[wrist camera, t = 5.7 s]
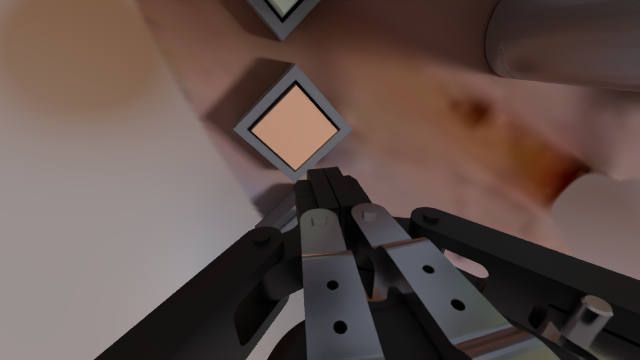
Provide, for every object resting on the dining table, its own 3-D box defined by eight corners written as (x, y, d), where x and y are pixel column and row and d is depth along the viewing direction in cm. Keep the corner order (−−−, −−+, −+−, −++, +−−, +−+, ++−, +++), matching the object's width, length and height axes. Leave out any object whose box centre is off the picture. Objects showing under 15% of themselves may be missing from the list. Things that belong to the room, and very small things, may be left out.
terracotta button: (292, 81, 24) (296, 85, 21) (330, 122, 26) (337, 130, 24) (252, 122, 25) (251, 130, 22) (292, 158, 27) (295, 170, 24)
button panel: (346, -128, 19) (359, -158, 16) (342, 249, 35) (349, 266, 32) (189, -139, 17) (175, -175, 14) (261, 263, 33) (261, 281, 30)
